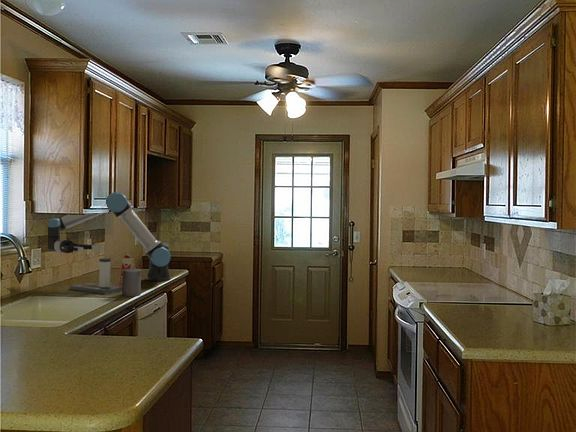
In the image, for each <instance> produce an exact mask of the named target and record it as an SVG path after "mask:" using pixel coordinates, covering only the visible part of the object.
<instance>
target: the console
mask: <svg viewBox="0 0 576 432" xmlns="http://www.w3.org/2000/svg"><path fill="white" fill-rule="evenodd" d="M71 289H72V291H78V292H87V293H92V292H93V293H94V294H102V295H108V294H113V293H114V294H115V293H117V292H118V293H119V292H122V287H118V285H110V286H109V287H99V283H96V282H95V283H94V282H85V283H84V282H83V283H79V284H74V285H73V284H72V285H69V290H71ZM93 293H92V294H93Z"/></svg>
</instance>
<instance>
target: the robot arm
mask: <svg viewBox="0 0 576 432" xmlns="http://www.w3.org/2000/svg"><path fill="white" fill-rule="evenodd" d="M106 197H107V200H106V204H107V207H108V208H109V209H110V210H109V212H108V213H107V214H110V213H112V214H113V215H114V216H115V217H116V218H117V219H120V220H121V221H122V222H123V224H125V226H126V227H127V228H128V230H130V232H131V233H132V234H133V236H134V237H135V239H137V241H138V242H139V243H140V244H141V245H142V246H143V248H144V249H145V251H144V253H145V255H146V256H147V257H148V258H149V267H148V270H147V273H146V280H147V281H152V282H166V281H170V280H171V274H170V270H169V263H170V261H171V258H172V257H171V252H170V250H169V249H170V248H169V244H168V243H163V242H162V241H161V240H157V239H156V237H155V236H154V235H153V234H152V233H151V231H150V230H149V229H148V227H147V226H146V225H145V224H144V223H143V221H142V220H141V219H140V218H139V216H138V215H137V213H135V211H134V210H133V204H131V202H130V200H128V198H127V197H126V196H125V194H124V193H122V192H120V191H114V192H111V193H110V194H108V196H106ZM103 214H105V213H97V214H85V215H69V214H67V215H64V216H62V217H60V218H61V219H59V218H56V217H54V218H52V217H51V218H52V219H49V224H48V249H49V250H50V251H49V252H53V253H54V252H55V253H59V254H62V253H64V254H71V253H72V254H73V253H74V252H75V253H84V250H91V251H102V245H96V244H94V243H92V244H83V243H74V242H73V240H71V239H70V240H69V239H60V235H61V234H60V233H61V232H63V231H65V230H67V229H69V228H72V227H74V226H77V225H79V224H81V223H84V222H86V221H89V220H91V219H94V218H96V217H99V216H101V215H103Z"/></svg>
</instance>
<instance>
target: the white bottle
mask: <svg viewBox="0 0 576 432" xmlns="http://www.w3.org/2000/svg"><path fill="white" fill-rule="evenodd" d="M98 260H99V274H98V275H99V281H98V284H99V287H109V286H111V261H112V260H111V258H109V257H108V258H107V257H103V258H99V259H98Z"/></svg>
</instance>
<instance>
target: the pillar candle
mask: <svg viewBox="0 0 576 432" xmlns="http://www.w3.org/2000/svg"><path fill="white" fill-rule="evenodd" d="M141 283H142V269H139V268H135V269H124V270H123V284H122V291H121V295H122V296H123V297H139V296H140V295H141V289H142V286H141V285H142V284H141Z"/></svg>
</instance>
